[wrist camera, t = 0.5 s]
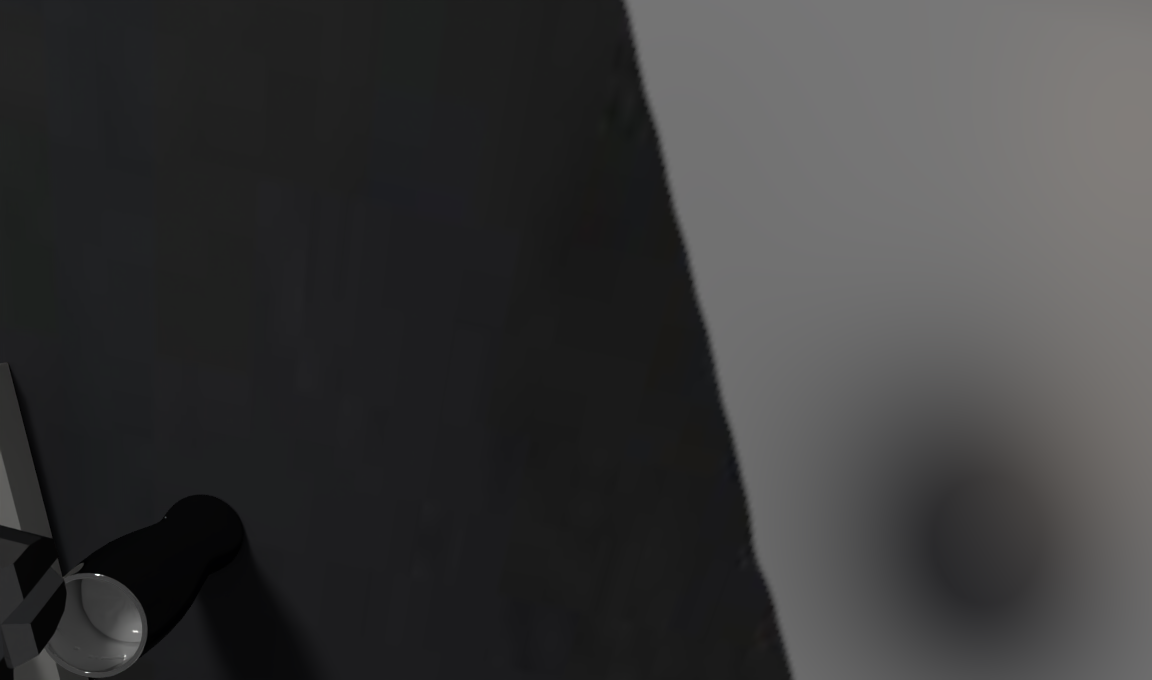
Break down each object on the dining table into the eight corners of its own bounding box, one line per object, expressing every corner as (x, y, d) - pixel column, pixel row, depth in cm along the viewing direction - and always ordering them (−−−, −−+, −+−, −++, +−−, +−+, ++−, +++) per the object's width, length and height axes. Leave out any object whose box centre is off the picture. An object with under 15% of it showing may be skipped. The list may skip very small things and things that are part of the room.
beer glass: (260, 504, 65) (163, 590, 50) (236, 587, 66) (134, 696, 51) (170, 476, 65) (47, 554, 50) (148, 560, 66) (20, 661, 51)
